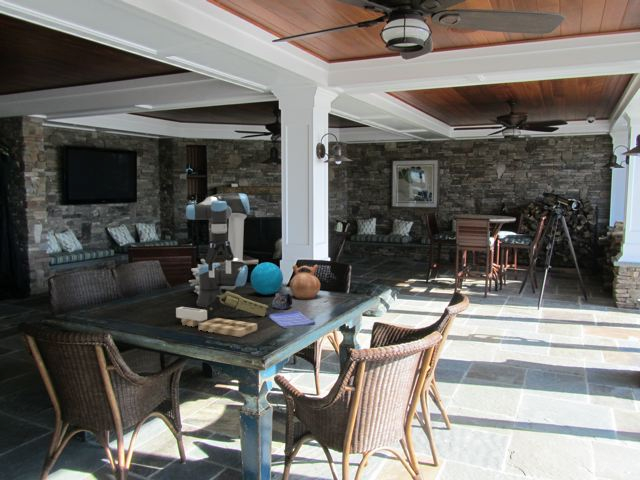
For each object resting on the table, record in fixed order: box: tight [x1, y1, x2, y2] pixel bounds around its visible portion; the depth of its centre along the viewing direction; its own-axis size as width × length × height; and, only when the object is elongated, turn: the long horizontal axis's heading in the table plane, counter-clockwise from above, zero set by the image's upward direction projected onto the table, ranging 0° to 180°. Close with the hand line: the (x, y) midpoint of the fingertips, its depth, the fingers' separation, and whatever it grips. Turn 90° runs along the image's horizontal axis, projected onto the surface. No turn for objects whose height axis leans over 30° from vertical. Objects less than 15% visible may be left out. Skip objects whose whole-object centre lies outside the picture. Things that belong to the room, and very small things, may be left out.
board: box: [197, 317, 258, 338], centre depth 246 cm, size 24×13×3 cm, turn 61°
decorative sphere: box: [250, 261, 284, 296], centre depth 327 cm, size 20×20×20 cm
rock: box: [272, 292, 293, 310], centre depth 292 cm, size 11×10×10 cm
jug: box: [289, 264, 321, 300], centre depth 319 cm, size 18×18×20 cm
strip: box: [175, 306, 208, 326], centre depth 256 cm, size 16×4×7 cm, turn 61°
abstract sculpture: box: [188, 258, 236, 296], centre depth 336 cm, size 23×23×30 cm
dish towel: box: [268, 310, 316, 329], centre depth 263 cm, size 17×24×3 cm
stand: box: [181, 319, 198, 327], centre depth 256 cm, size 7×6×3 cm
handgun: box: [204, 290, 269, 321], centre depth 269 cm, size 4×30×16 cm, turn 104°
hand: (220, 275), depth 262 cm, fingers open, 13 cm apart
